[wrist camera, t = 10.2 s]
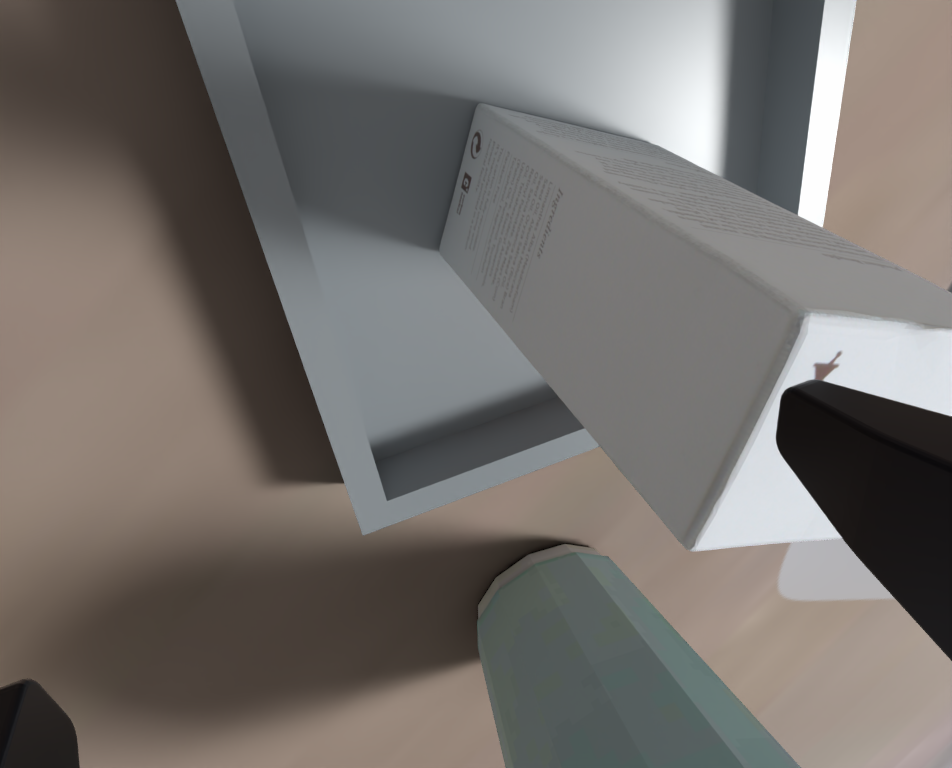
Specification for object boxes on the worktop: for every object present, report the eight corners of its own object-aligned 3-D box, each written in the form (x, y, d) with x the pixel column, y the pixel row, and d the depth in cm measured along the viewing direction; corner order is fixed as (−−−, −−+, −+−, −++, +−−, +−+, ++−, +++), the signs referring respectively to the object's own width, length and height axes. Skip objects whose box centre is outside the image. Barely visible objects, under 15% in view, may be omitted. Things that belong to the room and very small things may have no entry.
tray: (345, 484, 24) (362, 535, 22) (148, -80, 15) (149, -76, 13) (755, 336, 28) (801, 370, 26) (808, -203, 18) (888, -215, 16)
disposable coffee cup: (689, 551, 33) (979, 903, 22) (534, 704, 36) (722, 1098, 24) (543, 467, 27) (841, 898, 15) (366, 659, 29) (509, 1164, 18)
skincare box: (432, 255, 20) (675, 560, 11) (472, 97, 18) (807, 304, 9) (612, 279, 23) (930, 541, 14) (663, 143, 21) (1074, 339, 12)
